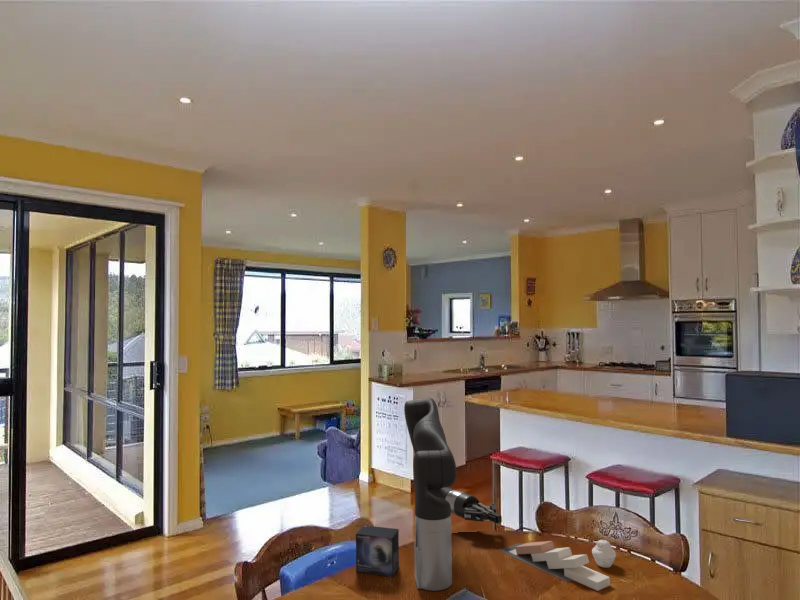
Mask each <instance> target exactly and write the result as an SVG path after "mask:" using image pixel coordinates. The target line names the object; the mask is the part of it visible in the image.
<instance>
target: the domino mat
mask: <svg viewBox="0 0 800 600" xmlns="http://www.w3.org/2000/svg"><path fill="white" fill-rule="evenodd" d="M522 544H523V543H521V542H519V543H515V544H513V545H510V546H507V547H503V548H499V549H498V551H499V552H501V553H503V554H504V555H505V554H506V555H508V556H510V557H512V558H514V559H516V560H519V561H521V562H523V563H525V564H527V565H530V566H532V567H534V568H536V569H538V570H541V571H542V572H544V573H547V574H549V575H551V576H553V577H556V578H557V579H560V580H562V581H564V582H566V583H569V582H572V581H573V580H572V579H570V578H568V577H566V576H564V568H560V569H548V565H547V562H546V561H536V562H533V559H532V556H531V554H517V553H516V549H515V547H516V546H519V545H522Z"/></svg>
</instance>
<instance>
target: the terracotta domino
mask: <svg viewBox="0 0 800 600" xmlns="http://www.w3.org/2000/svg"><path fill="white" fill-rule="evenodd" d="M515 549H516V553H517V554H534V553H544V552H547V551H549V550H552V549H555V544H554V541H553V540H547V541H535V542H532V541H531V542H526V543H522V545H519V546H516V547H515Z"/></svg>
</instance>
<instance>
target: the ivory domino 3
mask: <svg viewBox="0 0 800 600" xmlns="http://www.w3.org/2000/svg"><path fill="white" fill-rule="evenodd" d="M564 576H566V577H568V578H570V579H572V581H575V582H577V583H579V584H582V585H583V586H586V587H587V588H590V589H593V590H595V591H598V592H599V591H600V590H603V589H605V588H607V587H610V585H611V578H610V576H608V575H605V574H604V573H601V572H599V571H596V570H593V569H591V568H589V567H587V566H584V565H582V566H579V567H577V568H564Z"/></svg>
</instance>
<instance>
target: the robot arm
mask: <svg viewBox="0 0 800 600" xmlns="http://www.w3.org/2000/svg"><path fill="white" fill-rule="evenodd" d="M403 408H404V409H403V411H404V413H403V414H404V419H405V423H406V428H407V431H408V435H409V439H410V443H411V445H412V450H413V452H414V455H413V459H412V460H413V462H412V466H413V467H412V468H413V483H414V484H413V485H414V534H415V535H414V538H415V539H414V541H413V543H414V545H413V546H414V547H413V548H414V550H413V552H414V580H415V584H416V588H417V589H422V590H425V591H434V592H435V591H442V590H447V589H448V588H450V587H451V586H452V584H453V571H452V569H453V567H452V566H453V562H452V561H453V560H452V557H453V556H452V554H453V553H452V514H453V515H455V516H457V517H460V518H462V519H464V521H472V522H485V521H486V522H493V523H495V524H500V523H502V518H503V517H502V515H501V514H498V513H497V507H496V504H495V503H491V504H490V505H486V504H484V503H482V502H480V501H479V499H478V497H476V496H475V495H471V494H469V493H466V492H464V491H460V490H457V489H455V488H454V489H453V488H450V487H452V486H453V485H454V484H455V481H456V480H457V464H456V460H455V457H454V454H453V453H452V451H451V449H450V446H449V445H448V443H447V439H446V435H445V431H444V428H443V426H442V424H441V419H440V415H439V414H440V413H439V409H438V405H437V403H436V401H435V400H434V398H431V397H423V398H417V399H409V400H407V401H406V402H404V407H403Z"/></svg>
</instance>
